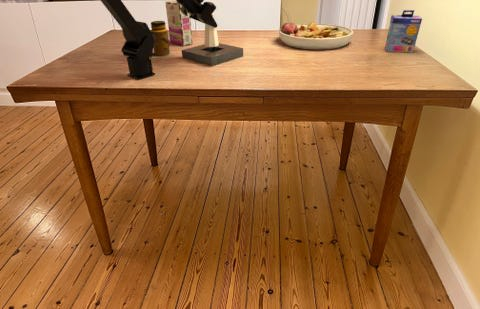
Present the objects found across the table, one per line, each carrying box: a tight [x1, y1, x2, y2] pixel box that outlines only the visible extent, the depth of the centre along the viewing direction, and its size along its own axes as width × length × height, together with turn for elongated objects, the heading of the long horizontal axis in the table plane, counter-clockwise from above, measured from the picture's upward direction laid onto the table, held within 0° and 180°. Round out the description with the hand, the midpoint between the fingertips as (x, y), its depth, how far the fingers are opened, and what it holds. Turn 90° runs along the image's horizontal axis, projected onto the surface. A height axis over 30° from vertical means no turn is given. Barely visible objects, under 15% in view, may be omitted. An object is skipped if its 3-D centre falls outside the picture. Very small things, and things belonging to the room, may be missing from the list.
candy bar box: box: [164, 0, 193, 47], centre depth 140 cm, size 11×5×16 cm, turn 41°
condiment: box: [150, 20, 174, 59], centre depth 126 cm, size 7×8×12 cm
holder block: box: [181, 42, 244, 67], centre depth 123 cm, size 16×16×3 cm
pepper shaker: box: [204, 12, 220, 47], centre depth 119 cm, size 5×5×11 cm
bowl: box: [278, 22, 354, 51], centre depth 139 cm, size 30×30×8 cm
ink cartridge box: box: [384, 9, 423, 53], centre depth 123 cm, size 10×6×14 cm, turn 78°
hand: (214, 25), depth 119 cm, fingers closed on pepper shaker, 4 cm apart
